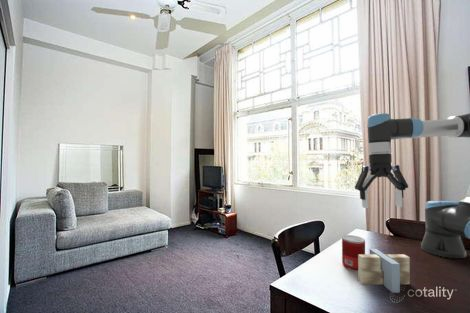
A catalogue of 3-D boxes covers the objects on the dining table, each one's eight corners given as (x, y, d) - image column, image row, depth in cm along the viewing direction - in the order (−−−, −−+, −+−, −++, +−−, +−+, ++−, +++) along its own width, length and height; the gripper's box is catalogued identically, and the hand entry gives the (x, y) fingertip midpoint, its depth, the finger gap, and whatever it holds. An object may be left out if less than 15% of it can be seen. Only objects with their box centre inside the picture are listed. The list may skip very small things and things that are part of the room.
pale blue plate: (369, 273, 84) (369, 248, 84) (376, 273, 84) (376, 248, 84) (392, 292, 72) (392, 263, 72) (399, 292, 72) (399, 263, 72)
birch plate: (404, 280, 79) (404, 254, 79) (409, 284, 77) (409, 257, 77) (358, 280, 79) (358, 254, 79) (362, 284, 77) (362, 257, 77)
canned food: (368, 272, 85) (368, 242, 85) (345, 270, 86) (345, 241, 87) (361, 262, 92) (361, 235, 92) (340, 261, 94) (340, 234, 94)
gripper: (403, 152, 94) (405, 203, 94) (344, 154, 94) (346, 206, 93) (418, 151, 87) (420, 207, 87) (354, 154, 86) (356, 210, 86)
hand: (382, 207), depth 90 cm, fingers open, 13 cm apart
